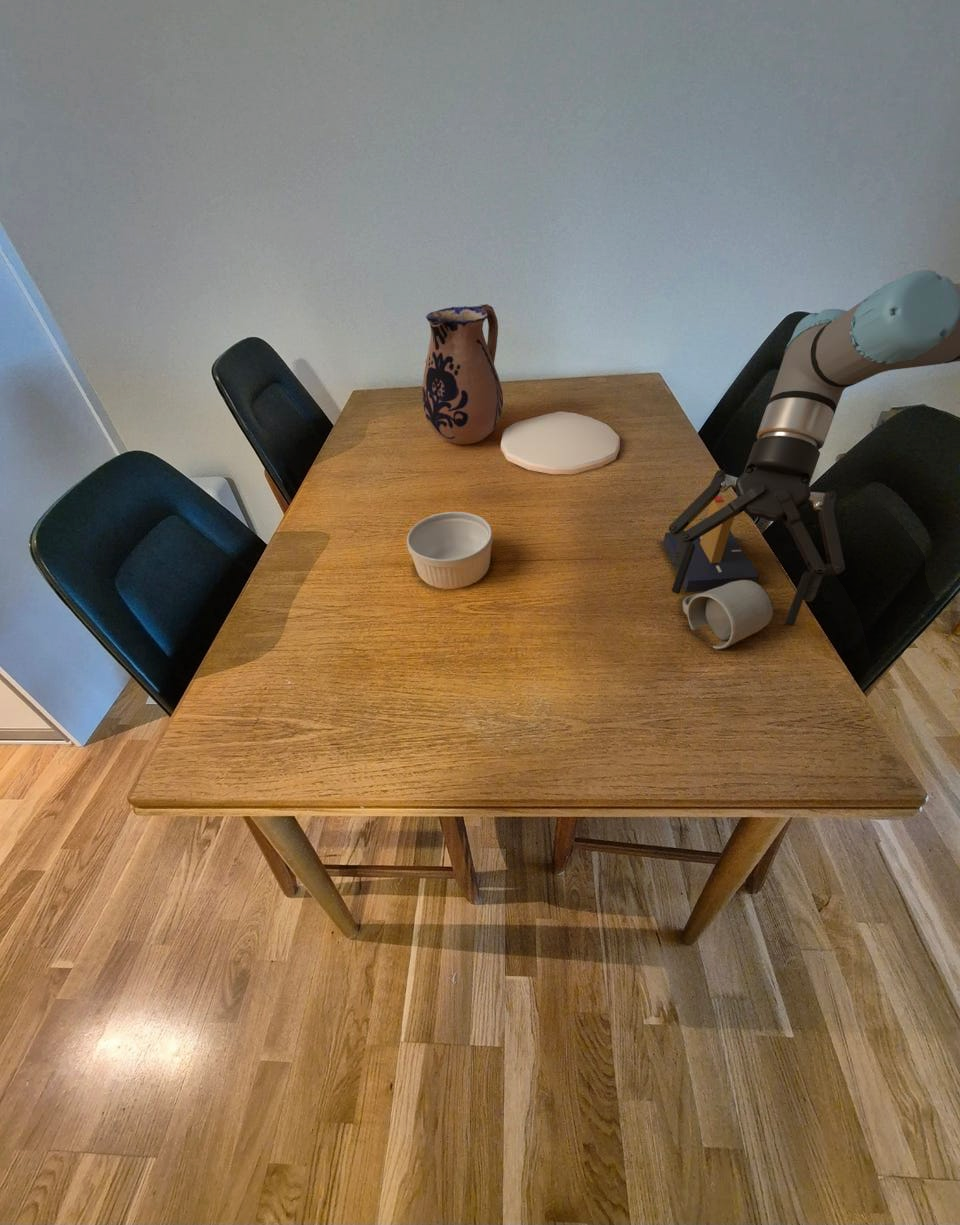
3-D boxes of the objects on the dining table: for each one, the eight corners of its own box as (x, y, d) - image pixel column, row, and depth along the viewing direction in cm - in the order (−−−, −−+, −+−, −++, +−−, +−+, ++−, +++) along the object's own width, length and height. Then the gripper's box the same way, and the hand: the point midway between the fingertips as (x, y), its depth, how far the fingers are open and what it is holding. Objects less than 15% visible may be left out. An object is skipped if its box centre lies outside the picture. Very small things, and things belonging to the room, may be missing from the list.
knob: (720, 562, 78) (734, 515, 72) (710, 563, 78) (724, 515, 73) (708, 542, 82) (721, 495, 76) (699, 543, 82) (712, 496, 76)
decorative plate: (481, 422, 116) (578, 397, 123) (482, 440, 119) (577, 414, 126) (535, 470, 99) (646, 438, 106) (535, 490, 102) (643, 457, 109)
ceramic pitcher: (413, 446, 120) (392, 324, 102) (461, 409, 132) (450, 295, 115) (480, 460, 113) (471, 331, 95) (524, 420, 125) (522, 300, 108)
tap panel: (753, 592, 78) (759, 575, 75) (684, 596, 78) (688, 580, 76) (724, 543, 86) (729, 527, 84) (662, 547, 87) (665, 531, 84)
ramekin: (456, 535, 93) (452, 501, 88) (511, 566, 86) (510, 531, 81) (397, 572, 87) (389, 537, 82) (451, 609, 79) (446, 572, 75)
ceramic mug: (768, 637, 71) (786, 593, 66) (723, 661, 68) (738, 617, 63) (708, 593, 78) (720, 551, 73) (665, 614, 76) (674, 571, 70)
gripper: (897, 474, 64) (836, 641, 65) (686, 439, 74) (637, 583, 76) (918, 452, 57) (849, 638, 58) (683, 417, 68) (629, 576, 69)
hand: (729, 608), depth 67 cm, fingers open, 13 cm apart
